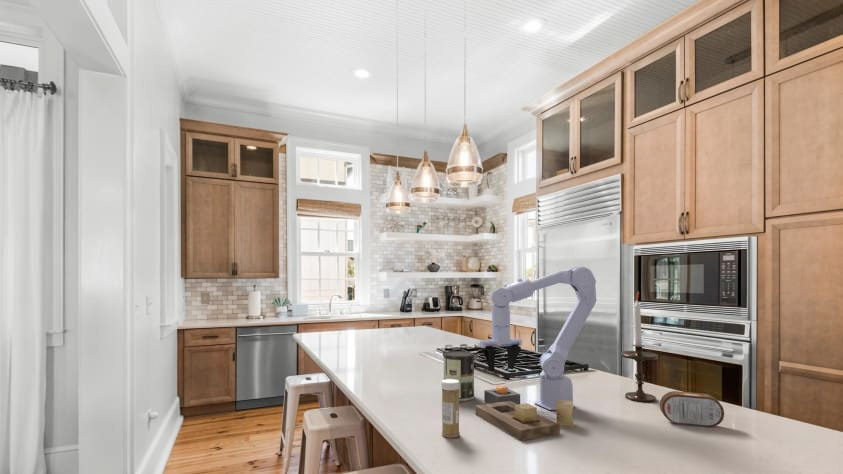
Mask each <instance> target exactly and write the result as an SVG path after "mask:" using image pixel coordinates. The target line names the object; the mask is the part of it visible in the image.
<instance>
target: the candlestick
mask: <svg viewBox="0 0 843 474" xmlns="http://www.w3.org/2000/svg"><path fill="white" fill-rule="evenodd" d="M639 295H640V292H639V290H638V291H637V293H636V295H635V302H634V303H635V304H633V313H634V314H633V315H634V317H633V318H634V341H635V342H634V343H635V344H631V346H632V347H634V350H624V351H621V352H620V357H621V358H626V359H629V360H634V362H636V371H637V372H636V373H635V374H634V377H635V378H636V379H637V380H636V381H635V384H636V385H637V390H636V391H630V392H626V393H625V395H624V397H625V399H627V400H629V401H633V402H637V403H645V404H647V403H648V404H649V403H655V402H656V401H657V397H656V395H653V394H649V393H646V392H645V391H644V390H643V385H644V384H645V382H644V381H643V379H644V377H645V374H644V373H643V372H642V368H643V367H642V363H643V362H644V361H655V360H658V354H657V353H653V352H651V351H650V352H649V351H643V347H646V345H643V343H642V342H643V341H642V320H641V319H642V318H641V304H639V301H638V299H639Z"/></svg>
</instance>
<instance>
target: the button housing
mask: <svg viewBox="0 0 843 474" xmlns="http://www.w3.org/2000/svg"><path fill="white" fill-rule="evenodd" d="M483 399H484V401H485V403H486V402H487V403H486V404H490V403H498V402H506V401H512V402H514V403H516V404H518V405H519V404H521V394H520V393H519V392H516V391H514V390H511V389H509V388H508V394H502V395H499V394H497V393H496V388H492V389H485V390H484V398H483Z"/></svg>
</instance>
